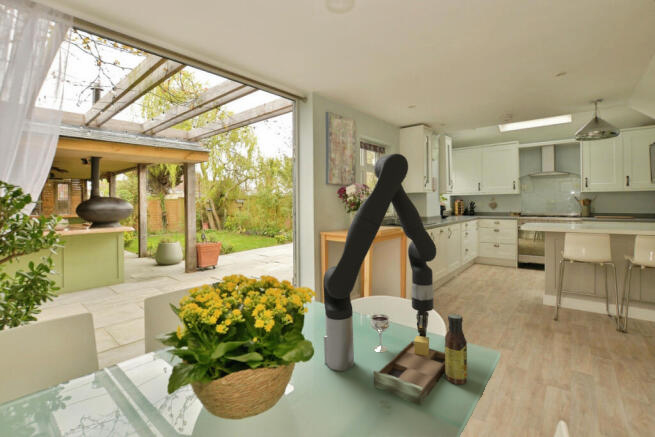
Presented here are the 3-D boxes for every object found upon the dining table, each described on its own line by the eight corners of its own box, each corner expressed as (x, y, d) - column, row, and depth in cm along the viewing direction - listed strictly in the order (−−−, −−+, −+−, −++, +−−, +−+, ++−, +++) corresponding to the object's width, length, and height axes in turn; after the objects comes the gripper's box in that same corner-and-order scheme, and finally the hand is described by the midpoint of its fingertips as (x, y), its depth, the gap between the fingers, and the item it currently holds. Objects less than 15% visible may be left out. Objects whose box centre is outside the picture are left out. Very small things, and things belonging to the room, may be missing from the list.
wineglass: (367, 348, 114) (367, 317, 113) (379, 342, 119) (378, 312, 118) (382, 355, 109) (381, 322, 108) (393, 348, 114) (393, 317, 113)
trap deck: (373, 386, 92) (373, 371, 91) (412, 348, 113) (412, 336, 113) (420, 405, 82) (419, 389, 82) (452, 361, 104) (452, 348, 104)
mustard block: (414, 353, 106) (414, 341, 105) (416, 347, 110) (415, 335, 110) (427, 356, 104) (427, 343, 104) (429, 349, 108) (429, 337, 108)
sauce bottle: (469, 386, 90) (469, 321, 89) (447, 384, 91) (446, 320, 90) (464, 374, 96) (464, 312, 95) (443, 372, 98) (443, 311, 96)
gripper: (414, 289, 117) (414, 332, 119) (409, 300, 105) (409, 348, 106) (434, 291, 114) (435, 335, 116) (431, 302, 102) (432, 352, 103)
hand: (422, 341), depth 111 cm, fingers closed
